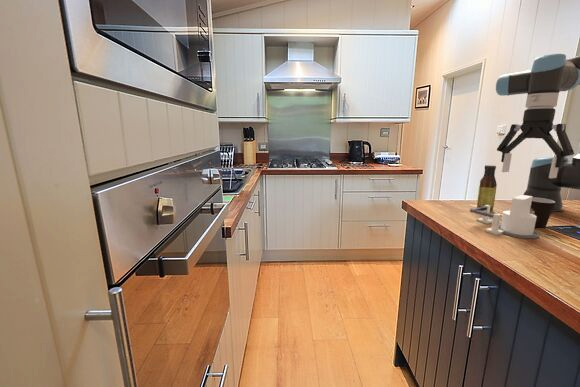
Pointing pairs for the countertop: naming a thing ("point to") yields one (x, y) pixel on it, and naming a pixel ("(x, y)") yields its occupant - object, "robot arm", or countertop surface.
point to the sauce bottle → (487, 188)
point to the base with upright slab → (519, 217)
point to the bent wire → (479, 211)
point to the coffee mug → (541, 211)
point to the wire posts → (495, 222)
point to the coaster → (535, 235)
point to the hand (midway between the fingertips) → (527, 174)
